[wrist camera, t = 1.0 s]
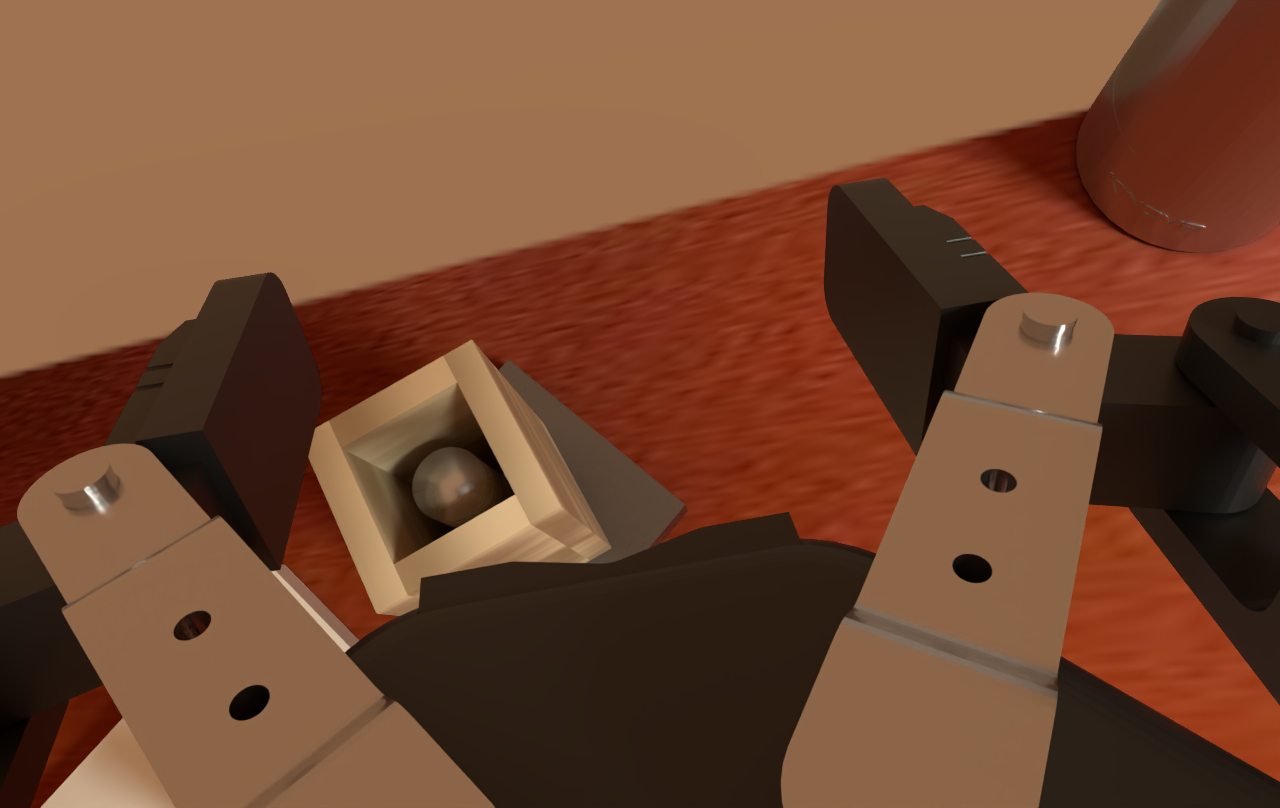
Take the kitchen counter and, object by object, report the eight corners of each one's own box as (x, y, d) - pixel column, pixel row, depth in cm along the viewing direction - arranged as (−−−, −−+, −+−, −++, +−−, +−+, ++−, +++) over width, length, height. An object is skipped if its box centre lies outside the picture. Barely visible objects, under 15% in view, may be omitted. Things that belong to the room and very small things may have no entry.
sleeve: (544, 424, 35) (471, 339, 26) (612, 547, 33) (561, 506, 24) (419, 495, 35) (299, 437, 25) (481, 624, 33) (376, 613, 24)
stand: (517, 370, 38) (446, 281, 29) (687, 510, 35) (669, 461, 26) (363, 541, 36) (237, 504, 27) (528, 701, 33) (450, 720, 24)
